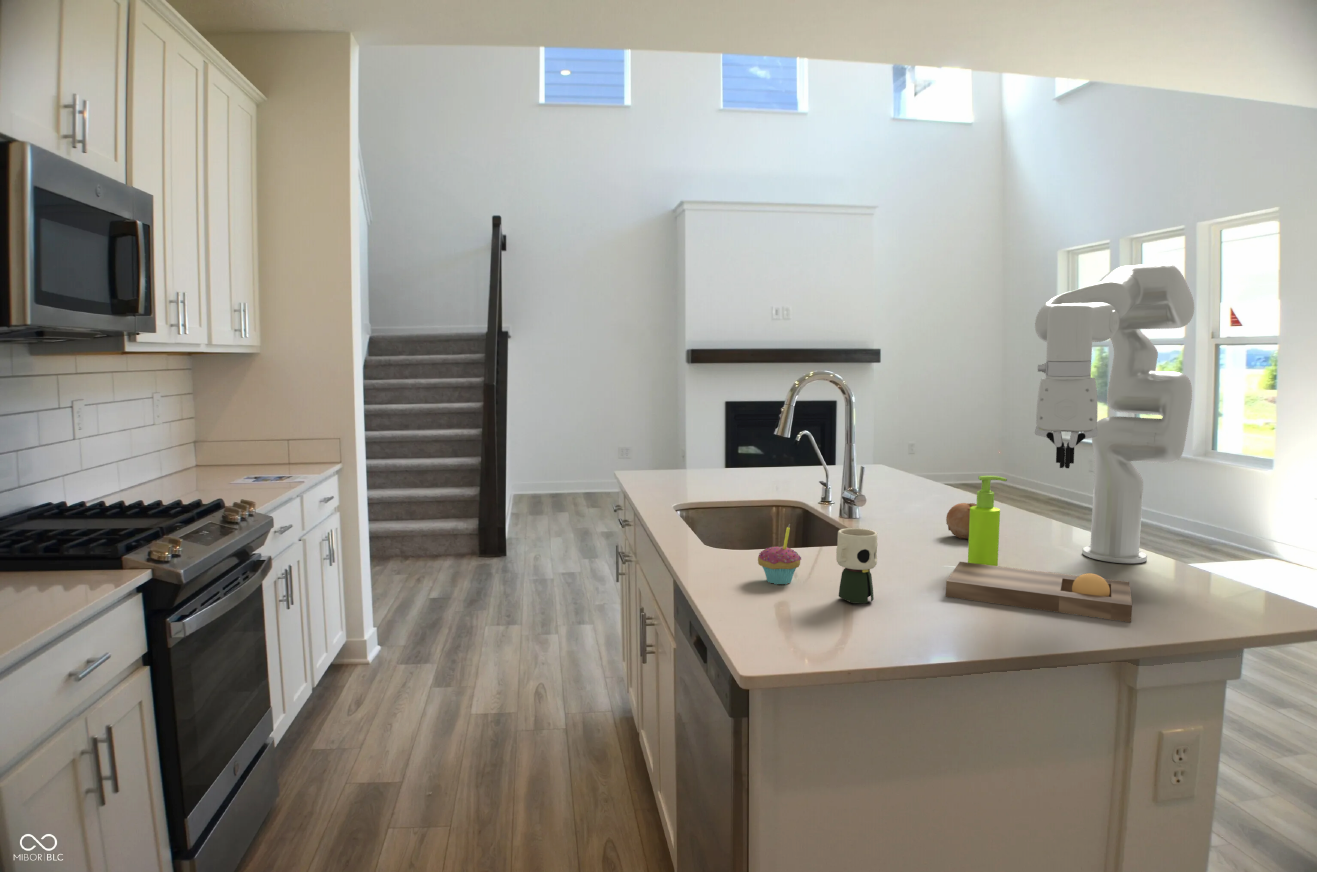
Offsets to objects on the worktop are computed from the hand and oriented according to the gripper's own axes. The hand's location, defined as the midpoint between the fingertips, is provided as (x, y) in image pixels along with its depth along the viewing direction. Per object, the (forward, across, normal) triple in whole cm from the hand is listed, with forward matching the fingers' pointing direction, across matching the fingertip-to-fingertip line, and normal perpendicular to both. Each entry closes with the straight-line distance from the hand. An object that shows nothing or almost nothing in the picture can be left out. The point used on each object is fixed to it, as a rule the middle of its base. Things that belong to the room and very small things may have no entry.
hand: (1064, 466), depth 150 cm
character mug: (+23, -32, -28) cm, 48 cm away
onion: (+26, -23, +36) cm, 50 cm away
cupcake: (+23, -49, -23) cm, 59 cm away
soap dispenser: (+24, -15, +8) cm, 30 cm away
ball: (+21, +5, -9) cm, 23 cm away
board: (+24, -4, -8) cm, 25 cm away
